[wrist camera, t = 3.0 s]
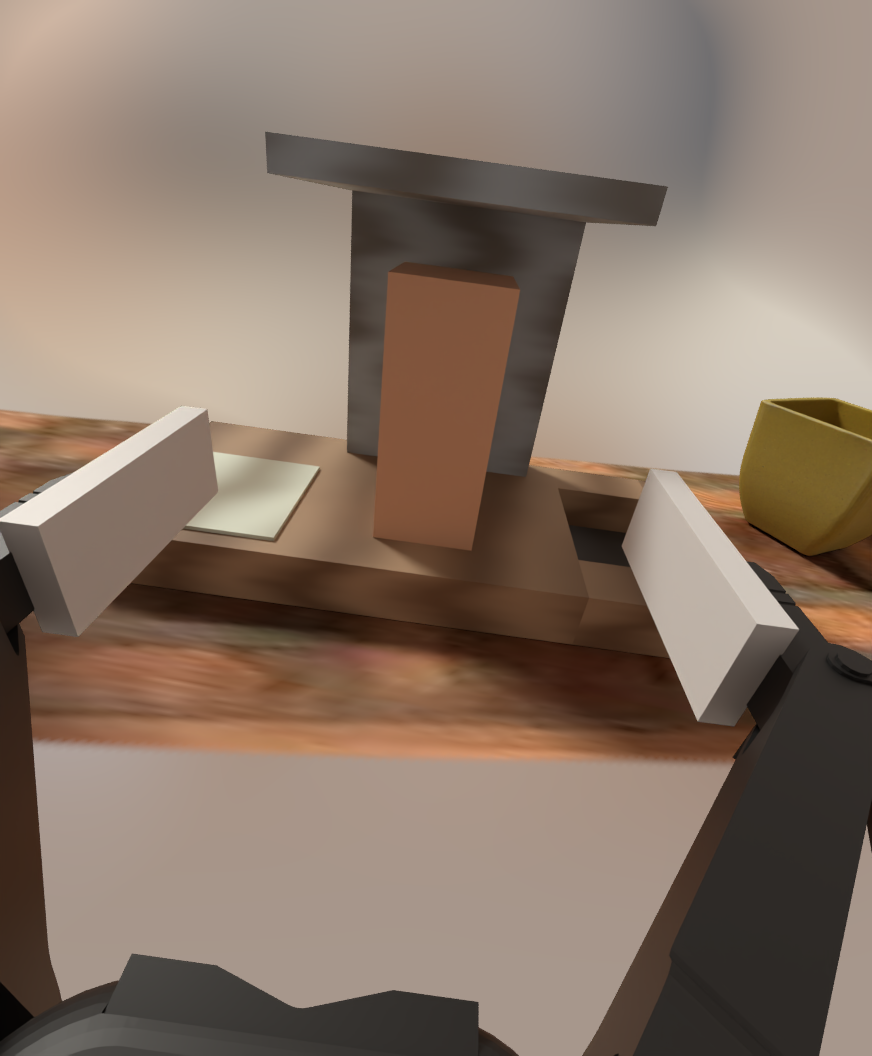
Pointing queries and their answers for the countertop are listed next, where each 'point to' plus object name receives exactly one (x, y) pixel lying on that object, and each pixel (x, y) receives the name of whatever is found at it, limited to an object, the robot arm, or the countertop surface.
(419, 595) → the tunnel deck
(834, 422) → the flower pot
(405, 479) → the orange block
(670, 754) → the countertop surface
